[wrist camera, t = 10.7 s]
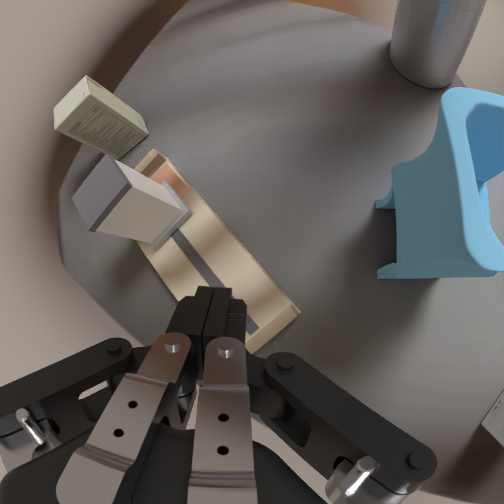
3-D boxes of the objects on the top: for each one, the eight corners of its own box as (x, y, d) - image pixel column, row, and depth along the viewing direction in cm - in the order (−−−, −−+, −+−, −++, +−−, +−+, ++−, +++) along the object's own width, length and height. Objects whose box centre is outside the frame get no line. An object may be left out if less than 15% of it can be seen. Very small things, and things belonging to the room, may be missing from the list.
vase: (446, 278, 26) (584, 270, 6) (376, 278, 28) (463, 274, 8) (443, 203, 26) (554, 111, 7) (375, 200, 28) (433, 80, 9)
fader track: (121, 209, 36) (104, 203, 33) (168, 158, 35) (153, 148, 31) (236, 365, 30) (225, 374, 27) (301, 312, 29) (297, 316, 26)
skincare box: (142, 115, 37) (88, 71, 25) (150, 135, 36) (92, 91, 24) (109, 141, 38) (51, 107, 26) (115, 162, 37) (53, 129, 25)
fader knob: (134, 219, 33) (67, 198, 23) (168, 182, 32) (108, 147, 22) (155, 250, 32) (87, 237, 21) (192, 212, 31) (132, 182, 21)
